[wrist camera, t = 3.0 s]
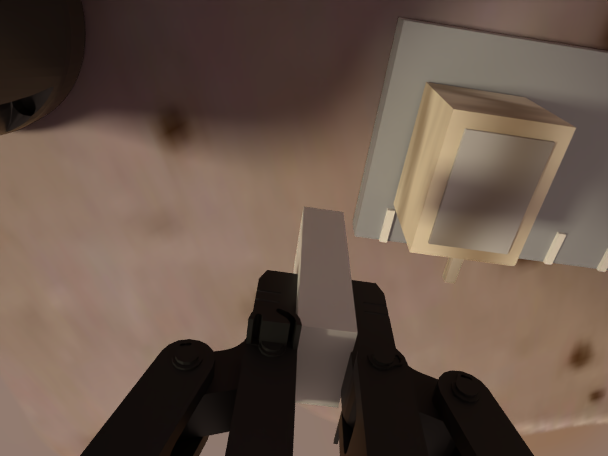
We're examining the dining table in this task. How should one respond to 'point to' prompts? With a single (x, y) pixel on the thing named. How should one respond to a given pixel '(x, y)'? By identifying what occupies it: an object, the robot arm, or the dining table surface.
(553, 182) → the track
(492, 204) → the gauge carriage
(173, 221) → the dining table surface
